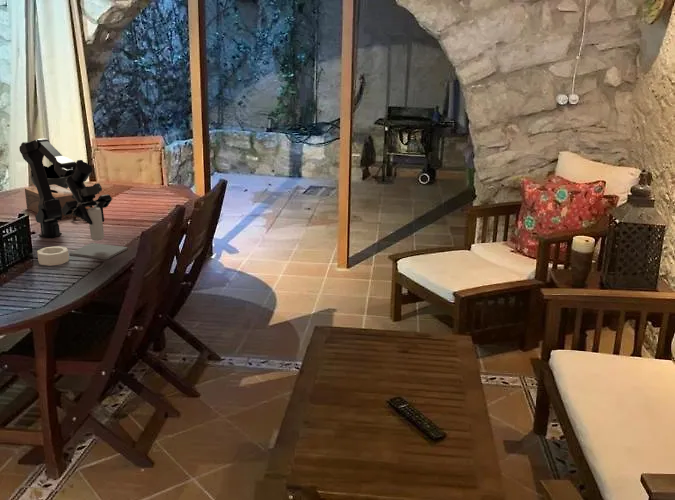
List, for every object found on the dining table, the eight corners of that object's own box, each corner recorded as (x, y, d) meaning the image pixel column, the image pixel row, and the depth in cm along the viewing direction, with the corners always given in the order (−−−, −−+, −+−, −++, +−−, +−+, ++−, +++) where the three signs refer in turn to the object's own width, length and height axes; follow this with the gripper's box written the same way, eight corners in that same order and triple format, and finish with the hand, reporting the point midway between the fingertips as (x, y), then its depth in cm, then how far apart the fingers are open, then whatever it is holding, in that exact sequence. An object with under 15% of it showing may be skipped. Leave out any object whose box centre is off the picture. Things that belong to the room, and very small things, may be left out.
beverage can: (89, 238, 260) (85, 208, 256) (102, 236, 262) (98, 206, 258) (93, 241, 256) (89, 211, 252) (105, 239, 259) (102, 209, 255)
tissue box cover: (82, 214, 314) (80, 193, 311) (51, 220, 304) (49, 198, 301) (56, 204, 330) (54, 184, 327) (27, 209, 320) (24, 188, 317)
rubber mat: (69, 254, 257) (69, 252, 256) (91, 244, 269) (91, 242, 269) (106, 259, 253) (106, 257, 252) (127, 249, 266) (127, 247, 265)
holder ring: (32, 263, 246) (31, 252, 245) (50, 255, 255) (49, 245, 254) (56, 266, 244) (55, 256, 242) (74, 258, 253) (73, 248, 252)
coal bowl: (82, 193, 353) (79, 157, 348) (48, 200, 337) (44, 162, 331) (58, 188, 363) (54, 153, 358) (24, 194, 347) (20, 158, 342)
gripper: (63, 180, 247) (83, 215, 244) (107, 173, 261) (126, 206, 258) (53, 197, 254) (72, 232, 251) (97, 190, 268) (115, 222, 265)
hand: (97, 222), depth 256 cm, fingers closed on beverage can, 5 cm apart
